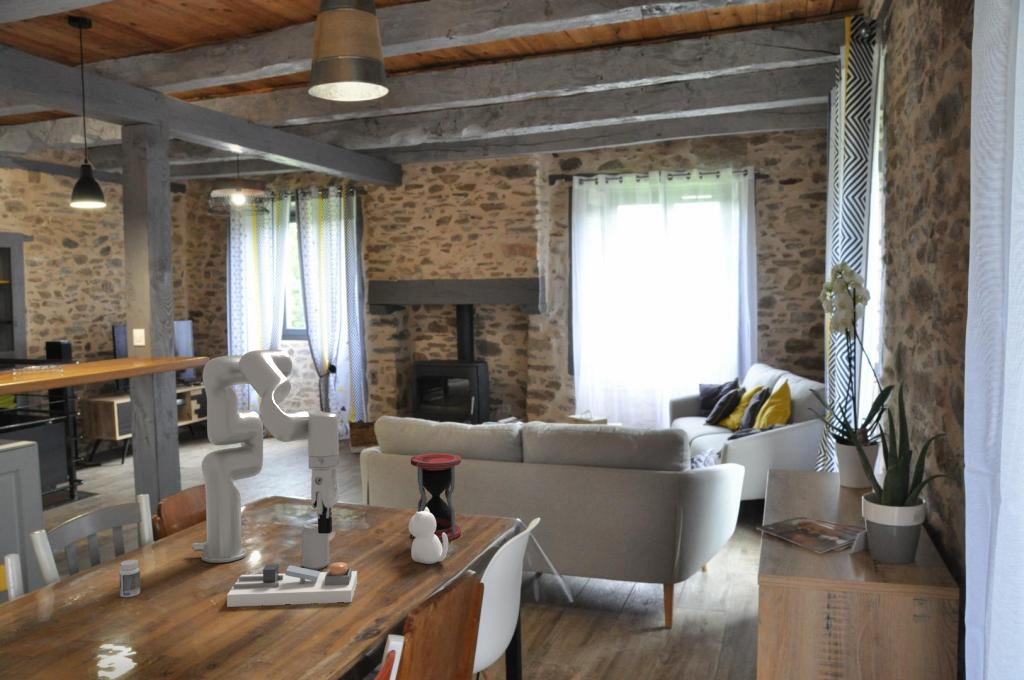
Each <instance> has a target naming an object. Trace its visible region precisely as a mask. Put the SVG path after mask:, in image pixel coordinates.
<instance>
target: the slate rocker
mask: <svg viewBox="0 0 1024 680" xmlns="http://www.w3.org/2000/svg"><path fill="white" fill-rule="evenodd" d="M320 572H321V571H320V570H319V571H318V570H310V569H306V568H305V567H304V568H303V567H300V566H295V565H288V566H287V568H286V571H285V572H284V573H285V575H287V576H292V577H297V578H302V579H307V580H311V581H317V579H318V577H319V573H320Z"/></svg>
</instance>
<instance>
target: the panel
mask: <svg viewBox="0 0 1024 680" xmlns="http://www.w3.org/2000/svg"><path fill="white" fill-rule="evenodd" d="M352 569H353V568H351V567H347V575H346V576H330V568H327V571H322V572H321V571H320V573H319V577H318V579H317V581H311V580H307V579H302V578H297V577H292V576H287V575H285V573H286V572H283V573H279V580H278V581H277V582H273V583H263V573H259V574H257V573H255V574H241V575H240V576H238V579H237V581H236V582H235V583H233V586H232V587H231V589H230V590H229V592H228V593H227V594H226V598H227V599H226V604H227V607H226V608H228V607H229V608H232V607H256V606H262V605H263V606H285V604H291V605H312V604H313V603H318V604H338V603H337V602H344V603H352V601H353V599H352V598H354V596H355V595H354V594H355V592H354V591H356V588H357V585H356V584H358V570H352ZM311 603H312V604H311Z"/></svg>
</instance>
